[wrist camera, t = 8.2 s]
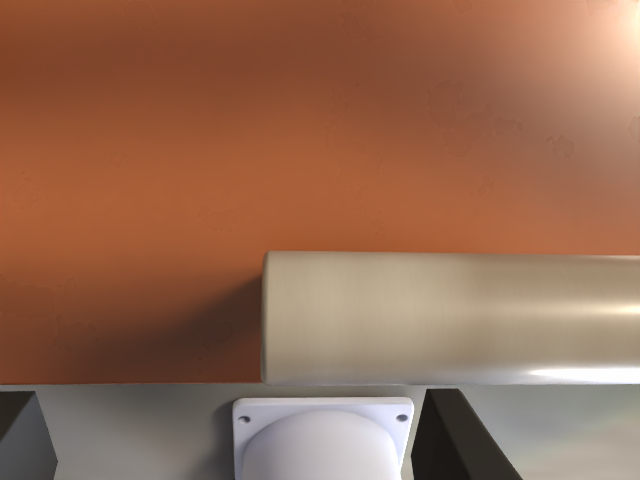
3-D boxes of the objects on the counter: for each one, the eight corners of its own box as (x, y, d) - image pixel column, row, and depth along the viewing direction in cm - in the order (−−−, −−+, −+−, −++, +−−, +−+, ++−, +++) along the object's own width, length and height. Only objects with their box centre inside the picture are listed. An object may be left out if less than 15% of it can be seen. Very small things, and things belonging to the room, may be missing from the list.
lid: (766, 373, 12) (1108, 479, 7) (-27, 375, 10) (-282, 508, 6) (789, -143, 11) (1166, -407, 7) (-28, -206, 10) (-300, -593, 5)
